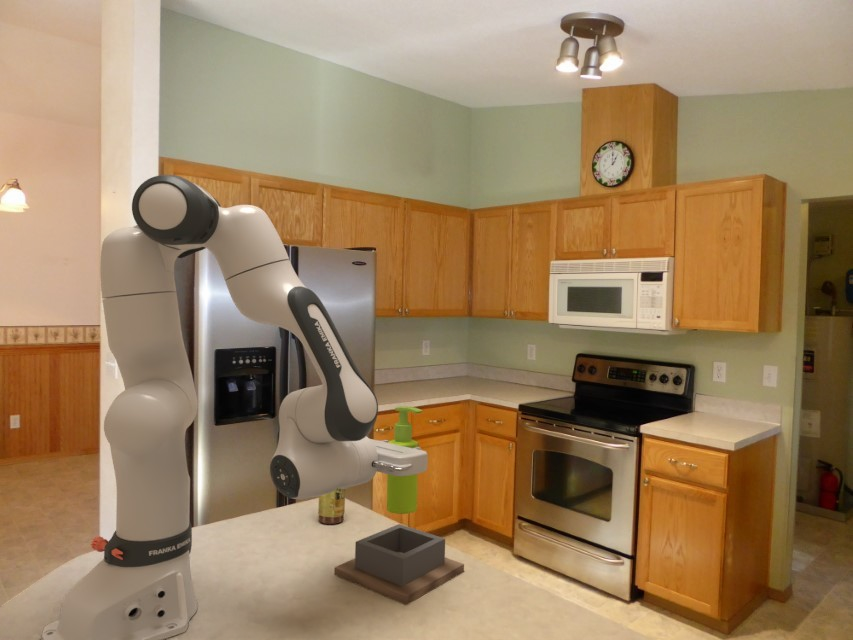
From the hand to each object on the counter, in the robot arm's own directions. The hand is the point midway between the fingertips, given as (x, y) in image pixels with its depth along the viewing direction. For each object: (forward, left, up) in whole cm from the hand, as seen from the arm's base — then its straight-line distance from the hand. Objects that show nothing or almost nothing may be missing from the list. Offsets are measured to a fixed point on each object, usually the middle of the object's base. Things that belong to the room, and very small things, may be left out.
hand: (404, 447), depth 118 cm
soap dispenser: (-1, -1, -12) cm, 12 cm away
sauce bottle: (+11, +31, -25) cm, 41 cm away
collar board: (0, 0, -25) cm, 25 cm away
